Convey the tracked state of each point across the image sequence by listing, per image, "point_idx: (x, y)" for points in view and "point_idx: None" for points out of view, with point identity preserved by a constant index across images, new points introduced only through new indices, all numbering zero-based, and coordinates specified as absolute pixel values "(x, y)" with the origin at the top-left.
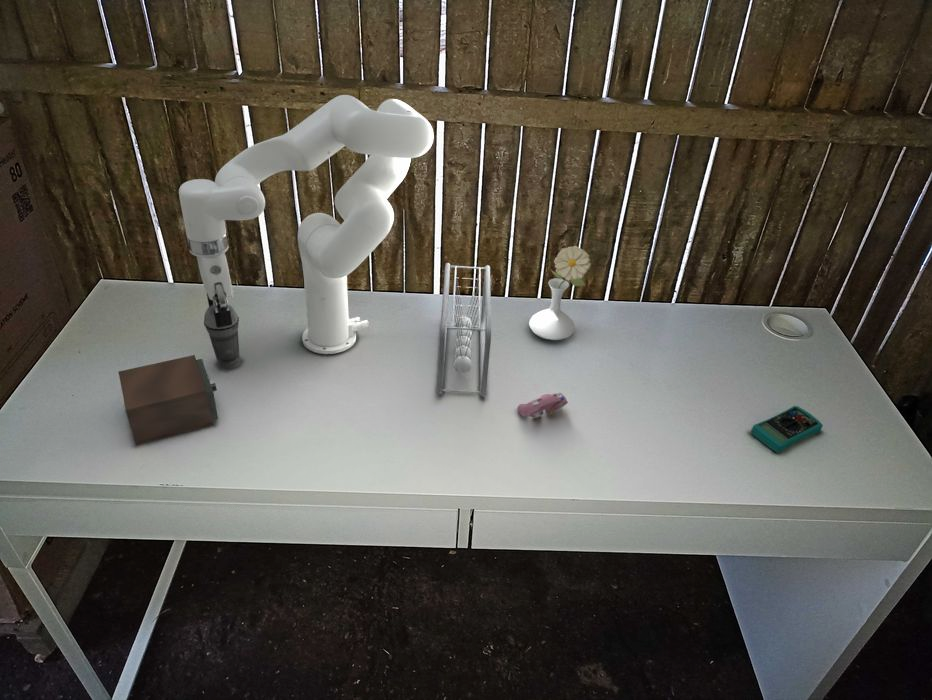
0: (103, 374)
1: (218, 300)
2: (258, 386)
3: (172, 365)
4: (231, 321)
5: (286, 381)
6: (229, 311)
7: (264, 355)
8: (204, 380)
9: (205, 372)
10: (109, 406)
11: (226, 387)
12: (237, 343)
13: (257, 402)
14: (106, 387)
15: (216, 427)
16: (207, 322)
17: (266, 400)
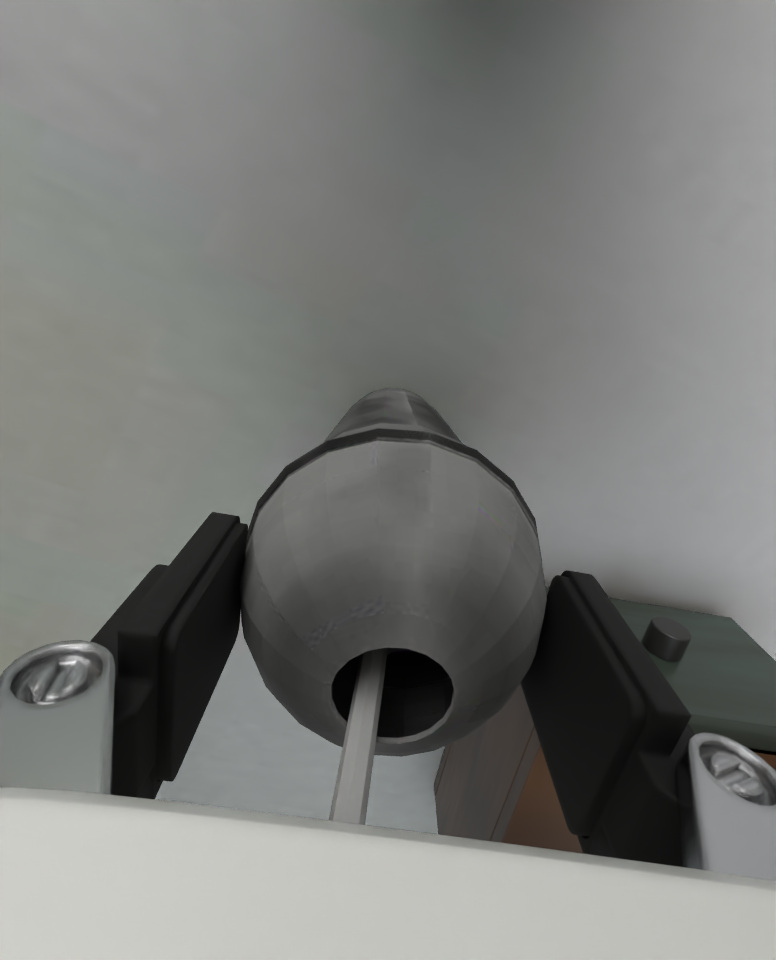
0: (222, 796)
1: (215, 615)
2: (640, 393)
3: (558, 833)
4: (600, 592)
5: (708, 251)
6: (668, 693)
7: (427, 251)
8: (747, 741)
9: (692, 719)
10: (401, 818)
11: (548, 511)
12: (452, 432)
13: (734, 444)
14: (299, 804)
15: (738, 622)
16: (428, 714)
17: (754, 405)
